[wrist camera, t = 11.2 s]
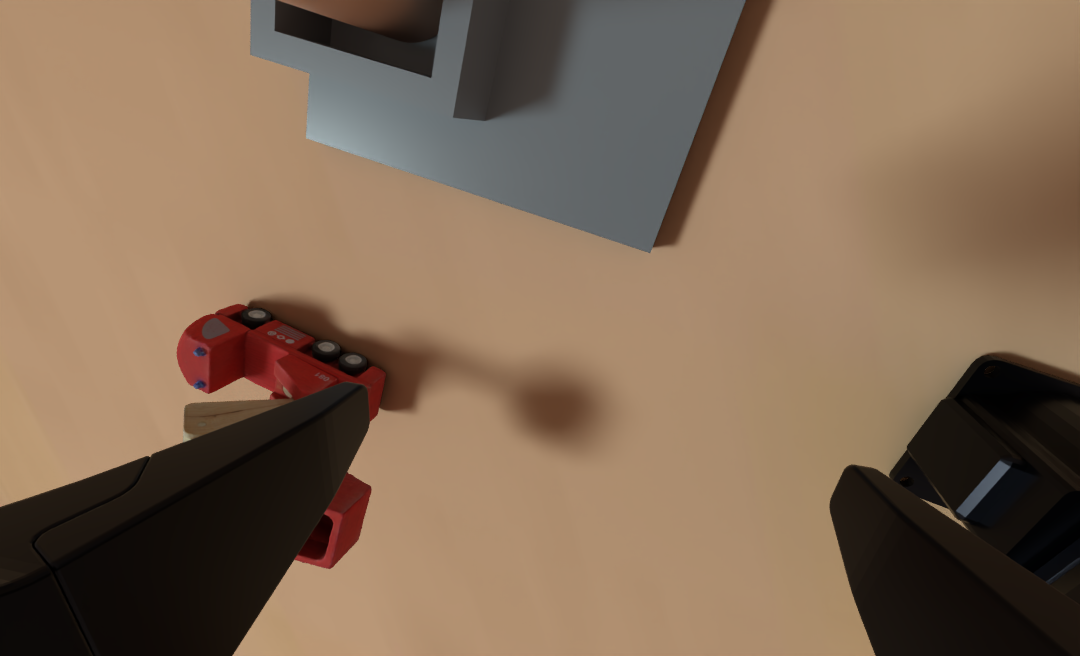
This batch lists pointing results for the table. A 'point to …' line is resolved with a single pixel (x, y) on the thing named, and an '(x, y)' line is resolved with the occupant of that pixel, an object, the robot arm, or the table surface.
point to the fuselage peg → (382, 16)
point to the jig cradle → (520, 99)
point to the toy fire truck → (276, 397)
